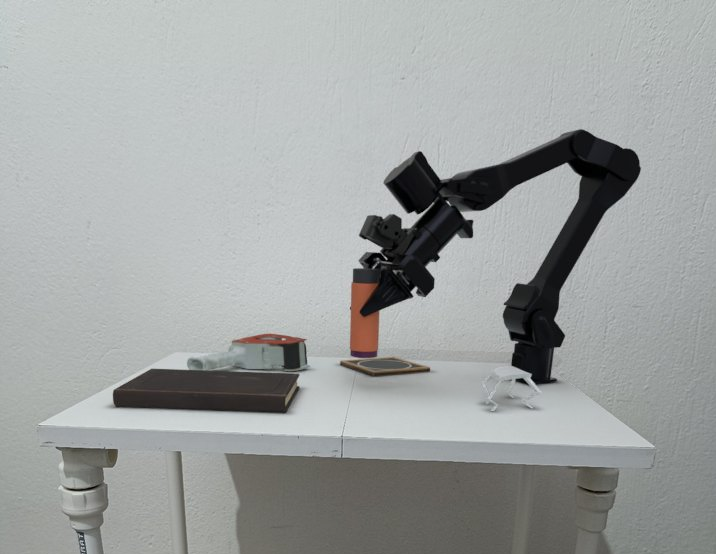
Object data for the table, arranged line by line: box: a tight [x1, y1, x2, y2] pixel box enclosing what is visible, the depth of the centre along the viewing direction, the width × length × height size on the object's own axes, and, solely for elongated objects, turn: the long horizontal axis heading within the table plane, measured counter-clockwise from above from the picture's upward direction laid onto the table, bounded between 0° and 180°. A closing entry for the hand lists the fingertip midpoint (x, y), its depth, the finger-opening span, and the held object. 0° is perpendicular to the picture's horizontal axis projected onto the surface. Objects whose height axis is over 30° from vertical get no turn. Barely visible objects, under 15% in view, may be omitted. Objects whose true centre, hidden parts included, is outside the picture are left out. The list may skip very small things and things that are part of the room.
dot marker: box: [349, 267, 380, 359], centre depth 101 cm, size 4×4×13 cm
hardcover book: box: [112, 368, 300, 413], centre depth 95 cm, size 16×23×2 cm
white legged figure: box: [481, 365, 543, 412], centre depth 96 cm, size 12×8×5 cm
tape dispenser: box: [186, 333, 310, 373], centre depth 117 cm, size 18×5×20 cm
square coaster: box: [339, 356, 431, 377], centre depth 121 cm, size 12×12×1 cm
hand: (356, 312), depth 101 cm, fingers closed on dot marker, 4 cm apart
